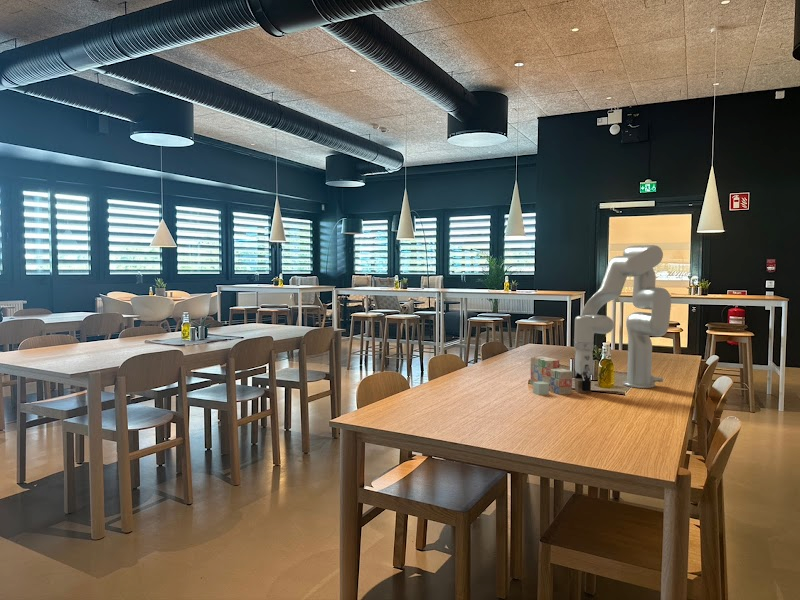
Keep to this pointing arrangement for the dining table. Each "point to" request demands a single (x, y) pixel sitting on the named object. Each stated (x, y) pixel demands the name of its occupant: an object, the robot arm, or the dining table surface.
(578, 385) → the walnut cube
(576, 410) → the dining table surface
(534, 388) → the sage block
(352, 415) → the dining table surface
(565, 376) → the stack of blocks
